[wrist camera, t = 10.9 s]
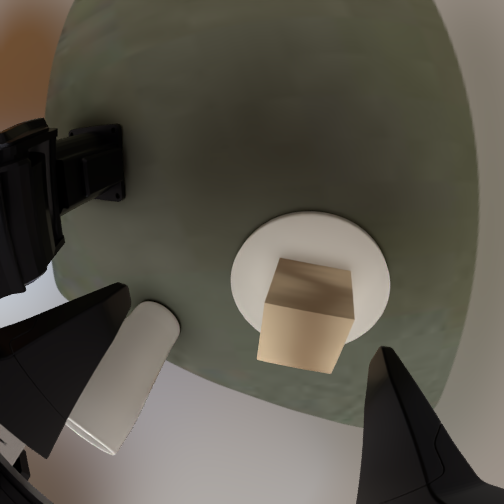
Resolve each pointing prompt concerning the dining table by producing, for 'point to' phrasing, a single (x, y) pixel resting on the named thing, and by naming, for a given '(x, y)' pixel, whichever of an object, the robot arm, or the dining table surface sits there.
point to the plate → (315, 252)
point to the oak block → (306, 316)
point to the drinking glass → (124, 377)
